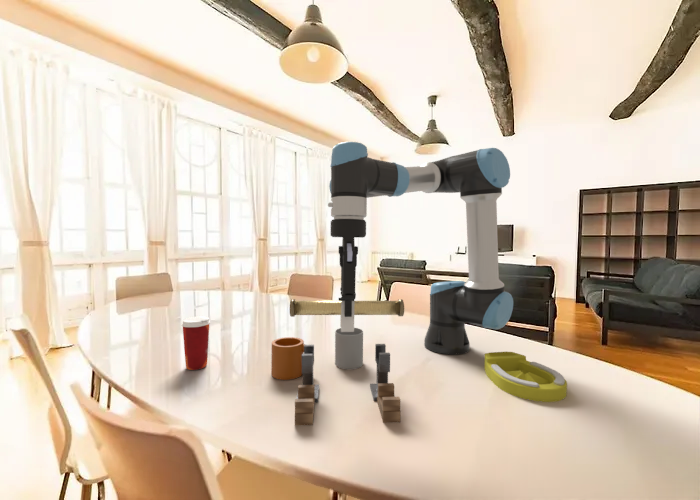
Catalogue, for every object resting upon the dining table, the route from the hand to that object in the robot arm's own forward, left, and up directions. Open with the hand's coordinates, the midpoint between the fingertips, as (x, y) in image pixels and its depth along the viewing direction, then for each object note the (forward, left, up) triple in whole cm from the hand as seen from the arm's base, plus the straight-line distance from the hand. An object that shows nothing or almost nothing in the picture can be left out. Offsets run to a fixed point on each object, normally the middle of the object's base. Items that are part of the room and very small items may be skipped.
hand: (347, 328), depth 68 cm
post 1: (+9, -9, -19) cm, 22 cm away
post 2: (-9, -9, -19) cm, 23 cm away
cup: (-2, -28, -19) cm, 34 cm away
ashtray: (-47, -13, -19) cm, 53 cm away
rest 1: (+9, 0, -19) cm, 21 cm away
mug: (+14, -21, -19) cm, 32 cm away
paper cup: (+43, -28, -19) cm, 54 cm away
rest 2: (-9, 0, -19) cm, 21 cm away
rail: (0, 0, +3) cm, 3 cm away
